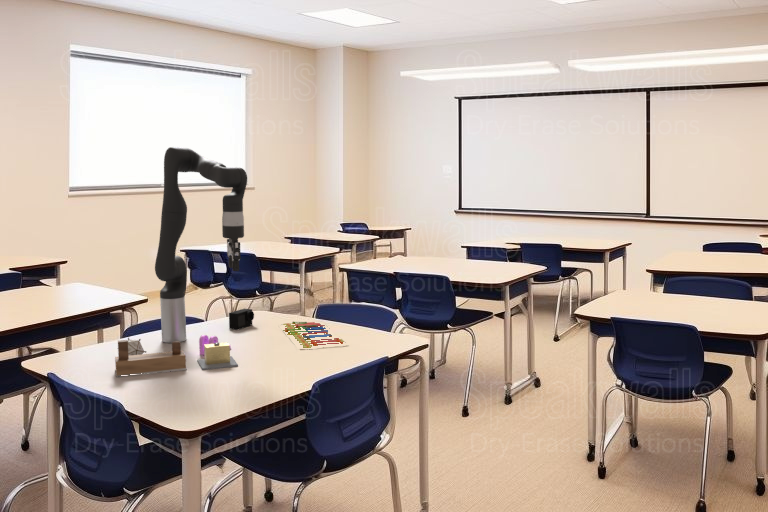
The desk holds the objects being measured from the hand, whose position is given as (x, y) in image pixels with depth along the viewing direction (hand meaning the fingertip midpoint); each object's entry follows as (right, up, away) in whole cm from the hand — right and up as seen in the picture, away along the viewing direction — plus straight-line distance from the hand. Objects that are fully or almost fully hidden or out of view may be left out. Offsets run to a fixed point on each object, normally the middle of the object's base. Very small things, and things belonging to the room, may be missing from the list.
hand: (233, 269), depth 264 cm
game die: (-35, -32, -4) cm, 48 cm away
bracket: (-8, -31, +10) cm, 33 cm away
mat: (-4, -33, -8) cm, 34 cm away
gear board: (+24, -28, +34) cm, 50 cm away
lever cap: (-4, -32, -8) cm, 33 cm away
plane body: (-25, -34, -16) cm, 45 cm away
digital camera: (-7, -26, +49) cm, 56 cm away
